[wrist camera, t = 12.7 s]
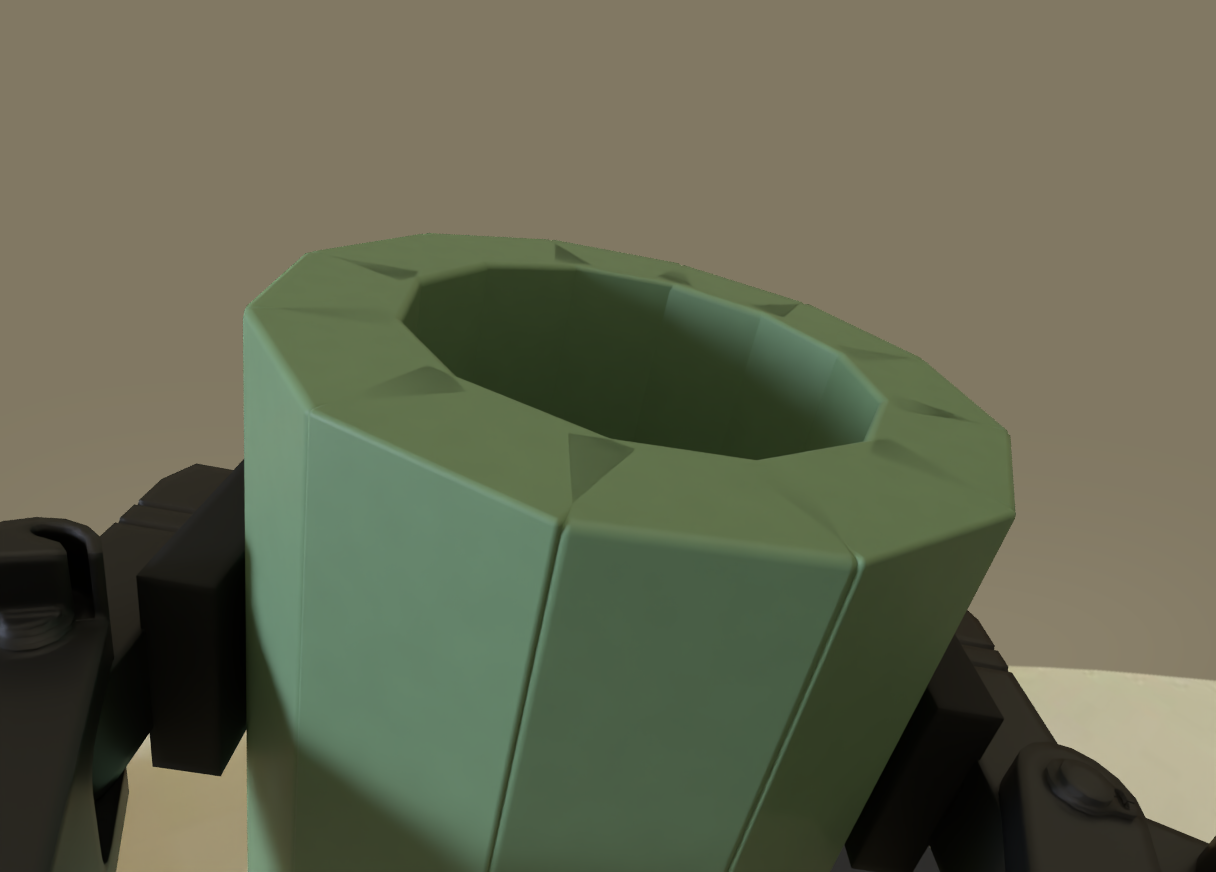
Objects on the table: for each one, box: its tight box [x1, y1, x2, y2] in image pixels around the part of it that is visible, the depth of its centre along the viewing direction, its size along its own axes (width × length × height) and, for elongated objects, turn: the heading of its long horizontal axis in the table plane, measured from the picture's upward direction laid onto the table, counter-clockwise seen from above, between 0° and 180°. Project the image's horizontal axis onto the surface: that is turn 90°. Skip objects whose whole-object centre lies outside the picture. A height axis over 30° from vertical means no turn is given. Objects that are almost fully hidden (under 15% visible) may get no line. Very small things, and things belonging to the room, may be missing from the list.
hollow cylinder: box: [243, 233, 1016, 872], centre depth 10 cm, size 7×7×10 cm
